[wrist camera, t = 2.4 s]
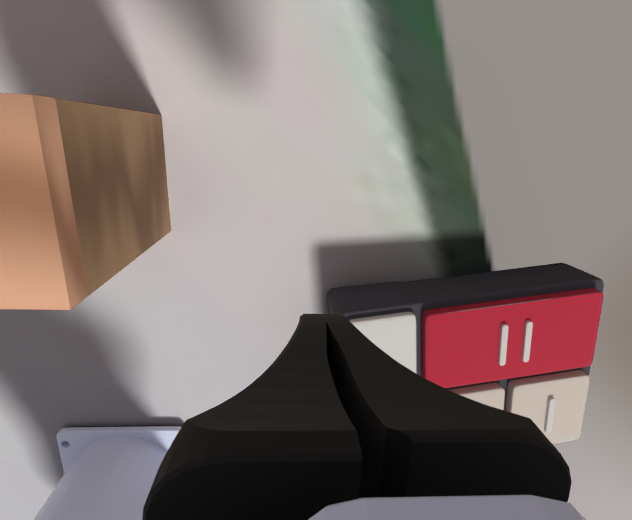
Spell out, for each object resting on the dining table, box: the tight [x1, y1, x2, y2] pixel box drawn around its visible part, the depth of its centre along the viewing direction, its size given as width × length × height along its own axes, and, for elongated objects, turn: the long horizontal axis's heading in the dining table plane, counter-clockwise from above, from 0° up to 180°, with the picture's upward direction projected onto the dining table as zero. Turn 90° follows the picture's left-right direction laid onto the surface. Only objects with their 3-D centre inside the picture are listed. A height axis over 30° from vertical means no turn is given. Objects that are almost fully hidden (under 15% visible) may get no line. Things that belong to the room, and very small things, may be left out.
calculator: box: [327, 263, 603, 444], centre depth 23 cm, size 11×4×15 cm
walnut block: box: [0, 93, 171, 310], centre depth 15 cm, size 6×4×10 cm, turn 178°
